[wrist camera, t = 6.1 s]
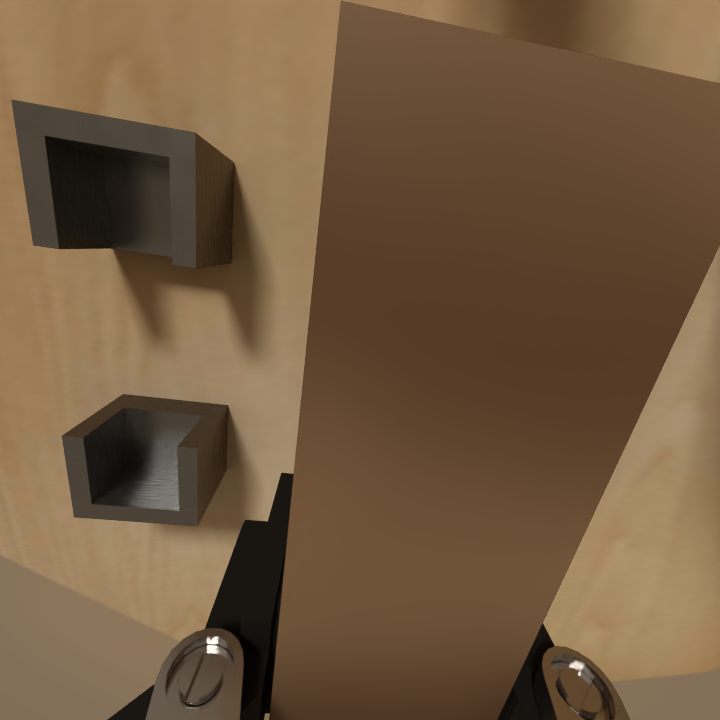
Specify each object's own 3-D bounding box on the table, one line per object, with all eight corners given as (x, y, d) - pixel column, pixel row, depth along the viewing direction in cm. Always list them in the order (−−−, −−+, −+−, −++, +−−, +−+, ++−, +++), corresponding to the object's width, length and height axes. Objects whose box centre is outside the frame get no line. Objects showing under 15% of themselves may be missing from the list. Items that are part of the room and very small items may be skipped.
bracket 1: (102, 139, 21) (11, 99, 15) (234, 162, 21) (195, 132, 16) (110, 245, 23) (33, 245, 17) (231, 263, 23) (196, 268, 18)
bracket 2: (226, 470, 29) (197, 526, 23) (128, 462, 28) (74, 517, 22) (227, 405, 27) (197, 448, 21) (123, 394, 26) (61, 435, 20)
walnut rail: (343, 155, 7) (340, -1, 3) (517, 186, 8) (788, 98, 3) (281, 692, 13) (247, 934, 9) (379, 696, 14) (398, 930, 9)
